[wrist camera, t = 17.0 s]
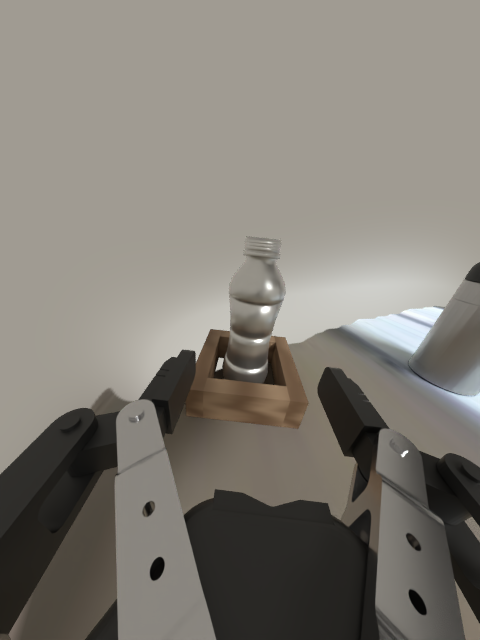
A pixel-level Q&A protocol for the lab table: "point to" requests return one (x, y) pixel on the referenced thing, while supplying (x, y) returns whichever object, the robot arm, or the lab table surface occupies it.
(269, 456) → the lab table surface
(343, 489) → the lab table surface
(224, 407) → the wooden square frame
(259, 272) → the plastic bottle
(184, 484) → the lab table surface
